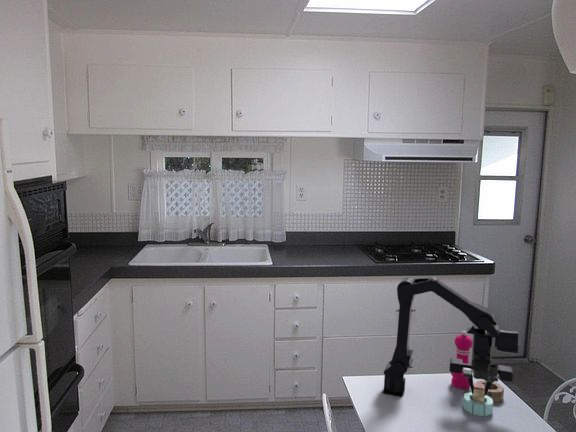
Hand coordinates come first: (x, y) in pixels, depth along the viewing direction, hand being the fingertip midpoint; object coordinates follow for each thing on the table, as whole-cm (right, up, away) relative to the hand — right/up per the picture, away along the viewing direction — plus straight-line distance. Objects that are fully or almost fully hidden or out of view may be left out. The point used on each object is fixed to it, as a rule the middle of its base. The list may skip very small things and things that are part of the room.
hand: (478, 394), depth 152 cm
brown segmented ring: (+7, -4, +10) cm, 13 cm away
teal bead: (0, -5, 0) cm, 5 cm away
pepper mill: (0, -3, +17) cm, 17 cm away
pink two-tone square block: (0, -3, 0) cm, 3 cm away
